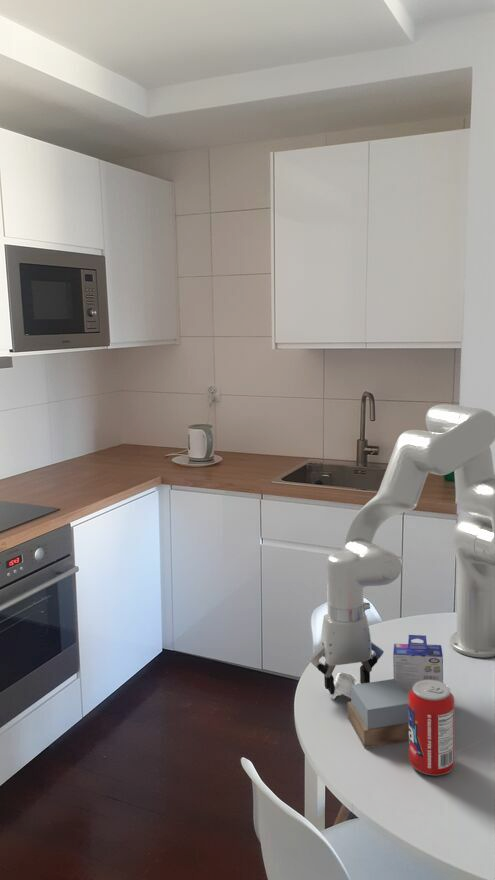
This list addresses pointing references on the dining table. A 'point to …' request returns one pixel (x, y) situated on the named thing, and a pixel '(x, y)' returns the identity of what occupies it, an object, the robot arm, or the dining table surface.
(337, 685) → the white cloth bundle
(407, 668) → the ink cartridge box
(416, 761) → the soda can
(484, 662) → the dining table surface
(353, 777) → the dining table surface
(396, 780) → the dining table surface
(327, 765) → the dining table surface
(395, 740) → the base block
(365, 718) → the top block
